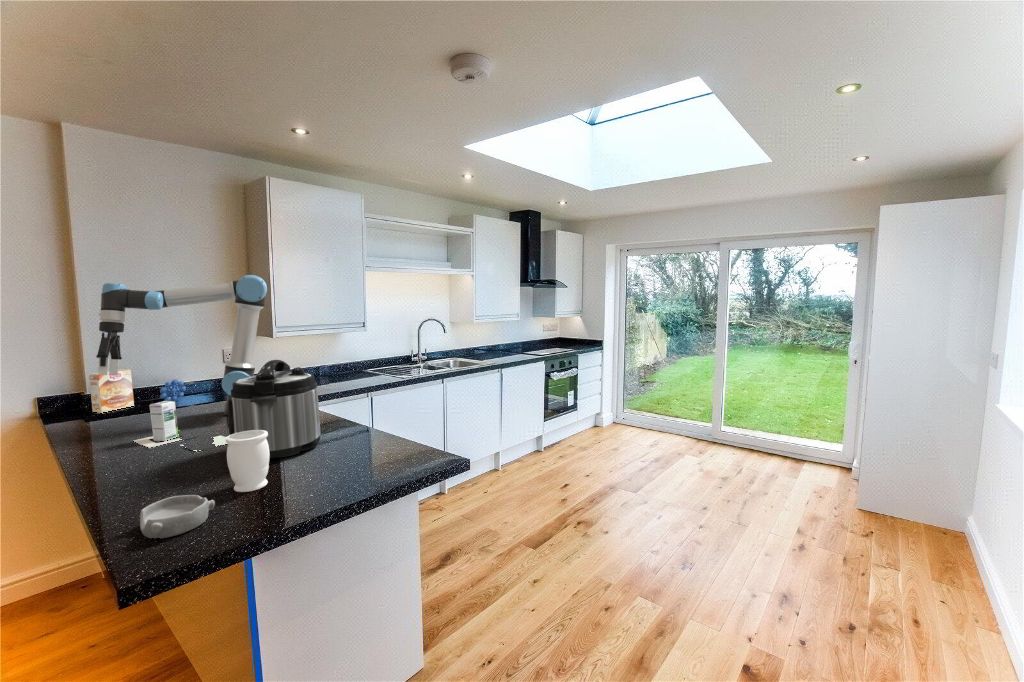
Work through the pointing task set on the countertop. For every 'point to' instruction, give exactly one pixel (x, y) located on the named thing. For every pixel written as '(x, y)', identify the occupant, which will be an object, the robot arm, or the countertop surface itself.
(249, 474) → the jar
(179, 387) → the grapes
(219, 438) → the mat
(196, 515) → the dish
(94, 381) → the coffeecake box
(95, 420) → the countertop surface
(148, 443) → the frame
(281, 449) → the pressure cooker
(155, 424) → the syrup box
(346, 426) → the countertop surface
